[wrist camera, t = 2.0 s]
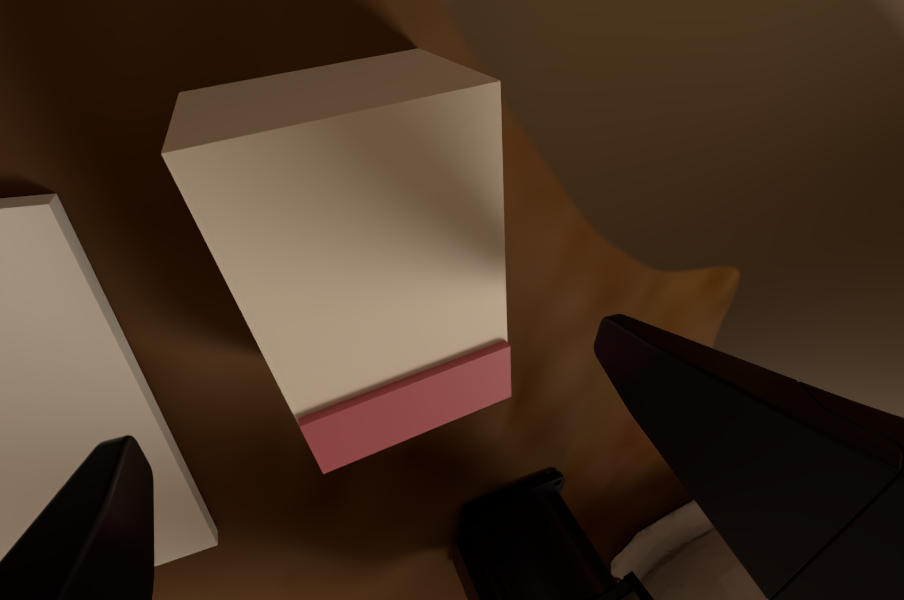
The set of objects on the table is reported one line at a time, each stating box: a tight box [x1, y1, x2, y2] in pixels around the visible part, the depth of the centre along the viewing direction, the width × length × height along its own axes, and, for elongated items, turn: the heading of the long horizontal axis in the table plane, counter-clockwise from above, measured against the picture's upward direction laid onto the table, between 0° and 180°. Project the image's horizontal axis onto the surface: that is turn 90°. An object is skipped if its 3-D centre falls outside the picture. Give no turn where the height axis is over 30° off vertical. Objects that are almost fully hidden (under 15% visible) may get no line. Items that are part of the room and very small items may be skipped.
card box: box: [161, 48, 511, 474], centre depth 11 cm, size 8×6×5 cm, turn 5°
